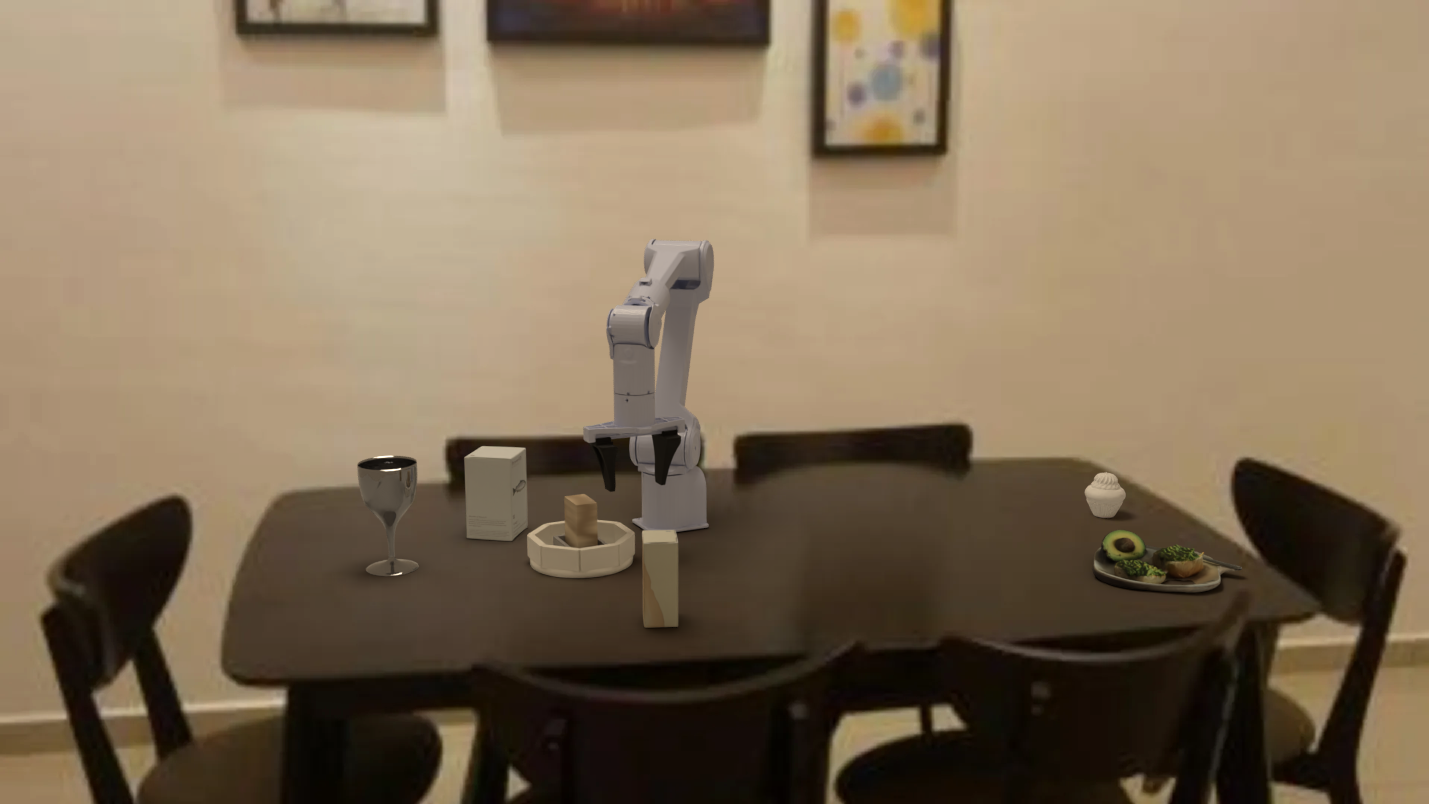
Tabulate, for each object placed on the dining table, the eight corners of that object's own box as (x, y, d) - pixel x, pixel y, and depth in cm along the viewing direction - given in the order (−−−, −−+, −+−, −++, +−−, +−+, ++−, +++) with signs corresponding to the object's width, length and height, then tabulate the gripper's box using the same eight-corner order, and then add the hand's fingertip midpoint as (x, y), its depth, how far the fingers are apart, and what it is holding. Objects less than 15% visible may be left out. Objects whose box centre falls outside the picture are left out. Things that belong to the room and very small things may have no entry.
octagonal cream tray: (609, 540, 203) (609, 514, 202) (649, 568, 190) (648, 540, 189) (516, 553, 196) (515, 527, 196) (550, 584, 184) (549, 555, 183)
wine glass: (432, 562, 193) (427, 458, 190) (402, 579, 186) (396, 472, 182) (383, 556, 195) (378, 453, 192) (351, 573, 188) (345, 467, 185)
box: (642, 613, 173) (641, 529, 171) (676, 612, 173) (676, 528, 171) (643, 629, 168) (642, 542, 166) (679, 627, 168) (678, 541, 166)
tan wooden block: (585, 548, 196) (584, 493, 194) (597, 558, 191) (596, 502, 190) (565, 550, 195) (564, 496, 193) (577, 561, 190) (576, 505, 188)
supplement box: (513, 542, 202) (510, 458, 199) (465, 539, 203) (462, 456, 201) (529, 527, 209) (527, 446, 206) (483, 524, 210) (480, 444, 208)
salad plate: (1237, 562, 194) (1240, 530, 193) (1245, 604, 177) (1248, 570, 176) (1095, 549, 200) (1097, 519, 199) (1089, 589, 183) (1091, 556, 182)
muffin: (1080, 518, 214) (1083, 474, 212) (1086, 507, 219) (1088, 465, 218) (1122, 522, 212) (1124, 478, 210) (1126, 512, 217) (1129, 469, 216)
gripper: (595, 401, 183) (597, 500, 186) (694, 392, 189) (694, 487, 192) (577, 392, 189) (579, 487, 192) (672, 383, 196) (673, 475, 198)
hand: (635, 486), depth 193 cm, fingers open, 7 cm apart
